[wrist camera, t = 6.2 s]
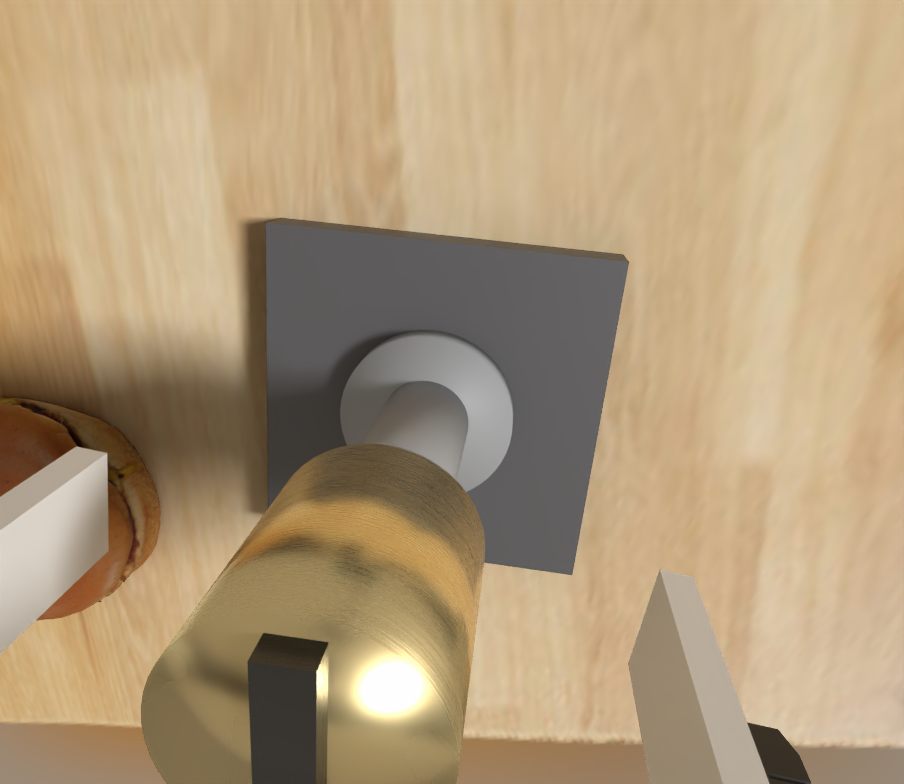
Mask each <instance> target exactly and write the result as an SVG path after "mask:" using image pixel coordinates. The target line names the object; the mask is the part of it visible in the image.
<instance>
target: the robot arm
mask: <svg viewBox="0 0 904 784" xmlns="http://www.w3.org/2000/svg"><path fill="white" fill-rule="evenodd" d="M108 551H109V540H108V469H107V453H105V452H100V451H95V450H90V449H86V448H81V447H75V448H73V449H72V450H70V451H69V452H67V453H66V454H64V455H63V456H61V457H60V458H58V459H57V460H55V461H54V462H52V463H51V464H49V465H48V466H46V467H45V468H43V469H42V470H40V471H39V472H37V473H36V474H34V475H32V476H31V477H29V478H28V479H26V480H25V481H23V482H22V483H20V484H19V485H17V486H16V487H14V488H13V489H11V490H10V491H8V492H7V493H5V494H4V495H2V496H1V497H0V654H1V653H2V652H3V651H4V650H5V649H6V648H7V647H8V646H9V645H11V644H12V643H13V642H14V641H15V640H16V639H17V638H18V637H19V636H20V635H21V634H22V633H23V632H24V631H25V630H26V629H27V628H28V627H29V626H30V625H31V624H33V623H34V622H35V621H36V620H37V619H38V618H39V617H40V616H41V615H42V614H43V613H44V612H45V611H46V610H47V609H48V608H49V607H50V606H51V605H52V604H53V603H54V602H56V601H57V600H58V599H59V598H60V597H61V596H62V595H63V594H64V593H65V592H66V591H67V590H68V589H69V588H70V587H71V586H72V585H73V584H74V583H75V582H76V581H78V580H79V579H80V578H81V577H82V576H83V575H84V574H85V573H86V572H87V571H88V570H89V569H90V568H91V567H92V566H93V565H94V564H95V563H96V562H97V561H98V560H99V559H101V558H102V557H103V556H104V555H105V554H106V553H107V552H108ZM628 665H629V671H630V676H631V682H632V687H633V693H634V698H635V704H636V709H637V715H638V721H639V726H640V732H641V737H642V743H643V748H644V754H645V760H646V765H647V770H648V776H649V781H650V784H811V781H810V779H809V777H808V774H807V772H806V770H805V767H804V765H803V763H802V760H801V758H800V756H799V754H798V753H797V752H796V751H795V750H794V748H793V747H792V746H791V745H790V743H789V742H788V741H787V740H786V739H785V737H784V736H783V735H782V734H781V733H780V731H779V730H778V729H774V728H770V727H765V726H760V725H756V724H751V723H747V721H746V718H745V716H744V713H743V710H742V707H741V705H740V702H739V699H738V696H737V694H736V691H735V688H734V686H733V683H732V680H731V677H730V675H729V672H728V669H727V666H726V664H725V661H724V658H723V656H722V653H721V650H720V647H719V645H718V642H717V639H716V636H715V634H714V631H713V628H712V626H711V623H710V620H709V617H708V615H707V612H706V609H705V606H704V604H703V601H702V598H701V596H700V593H699V590H698V587H697V585H696V582H695V579H694V577H693V576H689V575H684V574H679V573H675V572H670V571H665V570H659V573H658V576H657V579H656V582H655V585H654V588H653V591H652V594H651V597H650V600H649V603H648V606H647V609H646V612H645V615H644V618H643V621H642V624H641V627H640V630H639V633H638V636H637V639H636V642H635V645H634V648H633V651H632V654H631V657H630V660H629V663H628Z"/></svg>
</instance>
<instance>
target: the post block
mask: <svg viewBox="0 0 904 784" xmlns="http://www.w3.org/2000/svg"><path fill="white" fill-rule="evenodd" d="M628 264H629V261H628V260H627V259H626V258H625V256H624V255H622V254H613V253H603V252H594V251H585V250H575V249H566V248H557V247H547V246H538V245H529V244H519V243H510V242H501V241H491V240H482V239H473V238H463V237H454V236H445V235H435V234H426V233H417V232H407V231H398V230H389V229H379V228H370V227H361V226H351V225H342V224H333V223H323V222H314V221H305V220H296V219H286V218H280V219H277V220H273V221H270V222H267V223H266V312H267V429H268V508H269V507H270V505H271V504H272V503H273V501H274V500H275V499H276V497H277V496H278V494H279V493H280V492H281V490H282V489H283V488H284V486H285V485H286V483H287V482H288V481H289V480H290V478H291V477H292V476H293V475H294V473H295V472H296V471H297V470H299V469H300V468H301V467H302V466H303V465H304V464H305V463H307V462H308V461H310V460H311V459H313V458H314V457H316V456H318V455H320V454H322V453H324V452H326V451H329V450H332V449H335V448H338V447H342V446H347V445H353V444H367V443H369V444H383V445H389V446H394V447H399V448H402V449H405V450H409V451H412V452H414V453H416V454H418V455H421V456H423V457H425V458H427V459H429V460H430V461H432V462H434V463H435V464H437V465H438V466H440V467H441V468H442V469H444V470H445V471H446V472H448V473H449V474H450V475H451V476H452V477H453V478H454V479H455V480H456V481H457V482H458V483H459V484H460V485H461V486H462V487H463V489H464V490H465V491H466V492H467V494H468V495H469V497H470V498H471V500H472V502H473V503H474V505H475V507H476V509H477V512H478V514H479V516H480V519H481V522H482V526H483V530H484V536H485V559H484V562H485V563H492V564H499V565H506V566H513V567H520V568H527V569H534V570H540V571H547V572H554V573H561V574H568V575H572V573H573V567H574V562H575V556H576V551H577V545H578V540H579V534H580V529H581V523H582V518H583V512H584V507H585V501H586V496H587V490H588V485H589V479H590V474H591V468H592V463H593V457H594V452H595V446H596V441H597V435H598V430H599V424H600V419H601V413H602V408H603V402H604V397H605V391H606V386H607V380H608V375H609V369H610V364H611V358H612V352H613V347H614V341H615V336H616V330H617V325H618V319H619V314H620V308H621V303H622V297H623V292H624V286H625V281H626V275H627V270H628Z"/></svg>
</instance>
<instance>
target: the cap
mask: <svg viewBox="0 0 904 784" xmlns="http://www.w3.org/2000/svg"><path fill="white" fill-rule="evenodd" d="M484 559H485V536H484V530H483V526H482V522H481V519H480V516H479V514H478V512H477V509H476V507H475V505H474V503H473V502H472V500H471V498H470V497H469V495H468V494H467V492H466V491H465V490H464V489H463V487H462V486H461V485H460V484H459V483H458V482H457V481H456V480H455V479H454V478H453V477H452V476H451V475H450V474H449V473H448V472H446V471H445V470H444V469H442V468H441V467H440V466H438V465H437V464H435V463H434V462H432V461H430V460H429V459H427V458H425V457H423V456H421V455H418V454H416V453H414V452H412V451H409V450H405V449H402V448H399V447H394V446H389V445H383V444H369V443H367V444H353V445H347V446H342V447H338V448H335V449H332V450H329V451H326V452H324V453H322V454H320V455H318V456H316V457H314V458H313V459H311V460H310V461H308V462H307V463H305V464H304V465H303V466H302V467H301V468H300V469H299V470H297V471H296V472H295V473H294V475H293V476H292V477H291V478H290V480H289V481H288V482H287V483H286V485H285V486H284V488H283V489H282V490H281V492H280V493H279V494H278V496H277V497H276V499H275V500H274V501H273V503H272V504H271V505H270V507H269V508H268V510H267V511H266V512H265V514H264V515H263V516H262V518H261V519H260V521H259V522H258V523H257V525H256V526H255V527H254V529H253V530H252V532H251V533H250V534H249V536H248V537H247V538H246V540H245V541H244V543H243V544H242V545H241V547H240V548H239V549H238V551H237V552H236V554H235V555H234V556H233V558H232V559H231V560H230V562H229V563H228V565H227V566H226V567H225V569H224V570H223V571H222V573H221V574H220V576H219V577H218V578H217V580H216V581H215V582H214V584H213V585H212V587H211V588H210V589H209V591H208V592H207V593H206V595H205V596H204V598H203V599H202V600H201V602H200V603H199V604H198V606H197V607H196V609H195V610H194V611H193V613H192V614H191V616H190V617H189V618H188V620H187V621H186V622H185V624H184V625H183V627H182V628H181V629H180V631H179V632H178V633H177V635H176V636H175V638H174V639H173V640H172V642H171V643H170V644H169V646H168V647H167V649H166V650H165V651H164V653H163V654H162V655H161V657H160V658H159V660H158V661H157V662H156V664H155V666H154V667H153V669H152V671H151V673H150V675H149V677H148V679H147V682H146V685H145V688H144V691H143V696H142V704H141V724H142V729H143V735H144V739H145V742H146V745H147V748H148V751H149V754H150V756H151V758H152V760H153V762H154V764H155V766H156V768H157V770H158V772H159V773H160V774H161V776H162V777H163V779H164V780H165V782H166V783H167V784H456V782H457V776H458V770H459V762H460V754H461V746H462V738H463V730H464V722H465V713H466V705H467V697H468V689H469V681H470V673H471V665H472V657H473V649H474V641H475V632H476V624H477V616H478V608H479V600H480V592H481V584H482V576H483V568H484Z"/></svg>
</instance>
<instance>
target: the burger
mask: <svg viewBox="0 0 904 784" xmlns="http://www.w3.org/2000/svg"><path fill="white" fill-rule="evenodd" d="M75 447H81V448H86V449H90V450H95V451H100V452H105V453H107V469H108V540H109V551H108V552H107V553H106V554H105V555H104V556H103V557H102V558H101V559H99V560H98V561H97V562H96V563H95V564H94V565H93V566H92V567H91V568H90V569H89V570H88V571H87V572H86V573H85V574H84V575H83V576H82V577H81V578H80V579H79V580H78V581H76V582H75V583H74V584H73V585H72V586H71V587H70V588H69V589H68V590H67V591H66V592H65V593H64V594H63V595H62V596H61V597H60V598H59V599H58V600H57V601H56V602H54V603H53V604H52V605H51V606H50V607H49V608H48V609H47V610H46V611H45V612H44V613H43V614H42V615H41V616H40V617H39V618H38V619H37V620H44V619H56V618H62V617H65V616H68V615H71V614H74V613H77V612H79V611H82V610H84V609H86V608H88V607H90V606H91V605H93V604H95V603H96V602H101V600H102V599H103V598H104V597H106V596H109V595H111V594H112V593H113V592H114V591H115V590H116V589H117V588H118V587H119V586H120V585H121V583H122V582H125V580H126V579H127V578H128V577H129V575H130V574H131V573H132V572H133V571H135V570H136V569H138V568H139V567H140V566H141V565H143V563H144V562H145V561H146V560H147V558H148V557H149V556H150V555H151V553H152V551H153V550H154V548H155V546H156V543H157V538H158V533H159V528H160V504H159V498H158V497H157V491H156V488H155V485H154V483H153V481H152V479H151V477H150V475H149V473H148V471H147V470H146V467H145V465H144V463H143V461H142V459H141V458H140V456H139V455H138V454H137V452H136V451H135V448H134V447H132V446H131V445H130V444H129V442H128V440H127V439H126V437H125V436H124V435H123V434H122V433H121V432H120V431H119V430H117V429H116V428H114V427H113V426H111V425H109V424H107V423H106V422H104V421H102V420H100V419H98V418H94V417H91V416H89V415H86V414H83V413H79V412H77V411H74V410H70V409H67V408H64V407H61V406H57V405H54V404H49V403H45V402H40V401H35V400H29V399H20V398H9V397H4V396H0V497H1V496H2V495H4V494H5V493H7V492H8V491H10V490H11V489H13V488H14V487H16V486H17V485H19V484H20V483H22V482H23V481H25V480H26V479H28V478H29V477H31V476H32V475H34V474H36V473H37V472H39V471H40V470H42V469H43V468H45V467H46V466H48V465H49V464H51V463H52V462H54V461H55V460H57V459H58V458H60V457H61V456H63V455H64V454H66V453H67V452H69V451H70V450H72V449H73V448H75Z"/></svg>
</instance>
